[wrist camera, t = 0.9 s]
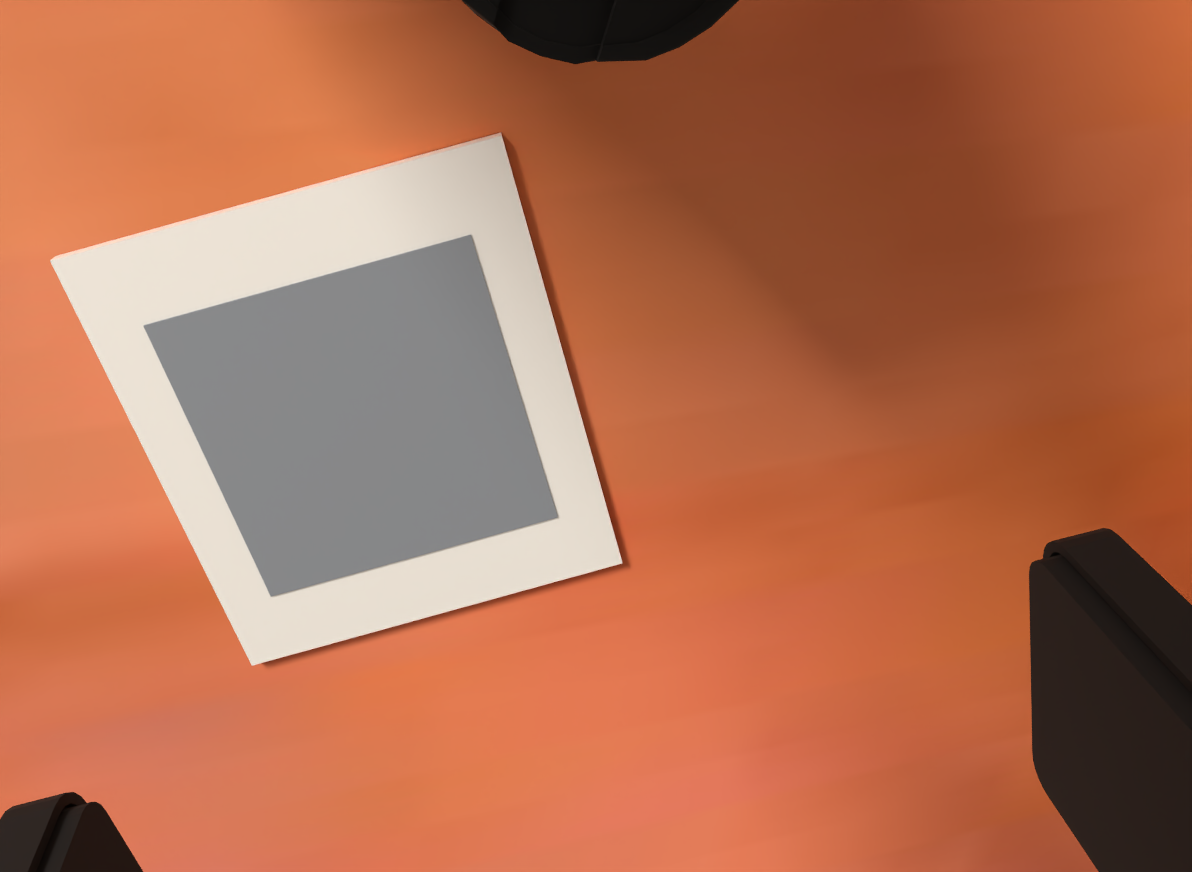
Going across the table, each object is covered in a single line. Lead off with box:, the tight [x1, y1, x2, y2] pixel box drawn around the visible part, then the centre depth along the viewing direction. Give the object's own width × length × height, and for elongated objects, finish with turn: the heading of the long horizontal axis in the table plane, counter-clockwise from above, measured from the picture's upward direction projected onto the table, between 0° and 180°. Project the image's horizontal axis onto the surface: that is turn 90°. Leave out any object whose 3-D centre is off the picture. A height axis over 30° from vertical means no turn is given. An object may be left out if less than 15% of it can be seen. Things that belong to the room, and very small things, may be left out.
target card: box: [50, 133, 622, 666], centre depth 41 cm, size 18×16×1 cm
